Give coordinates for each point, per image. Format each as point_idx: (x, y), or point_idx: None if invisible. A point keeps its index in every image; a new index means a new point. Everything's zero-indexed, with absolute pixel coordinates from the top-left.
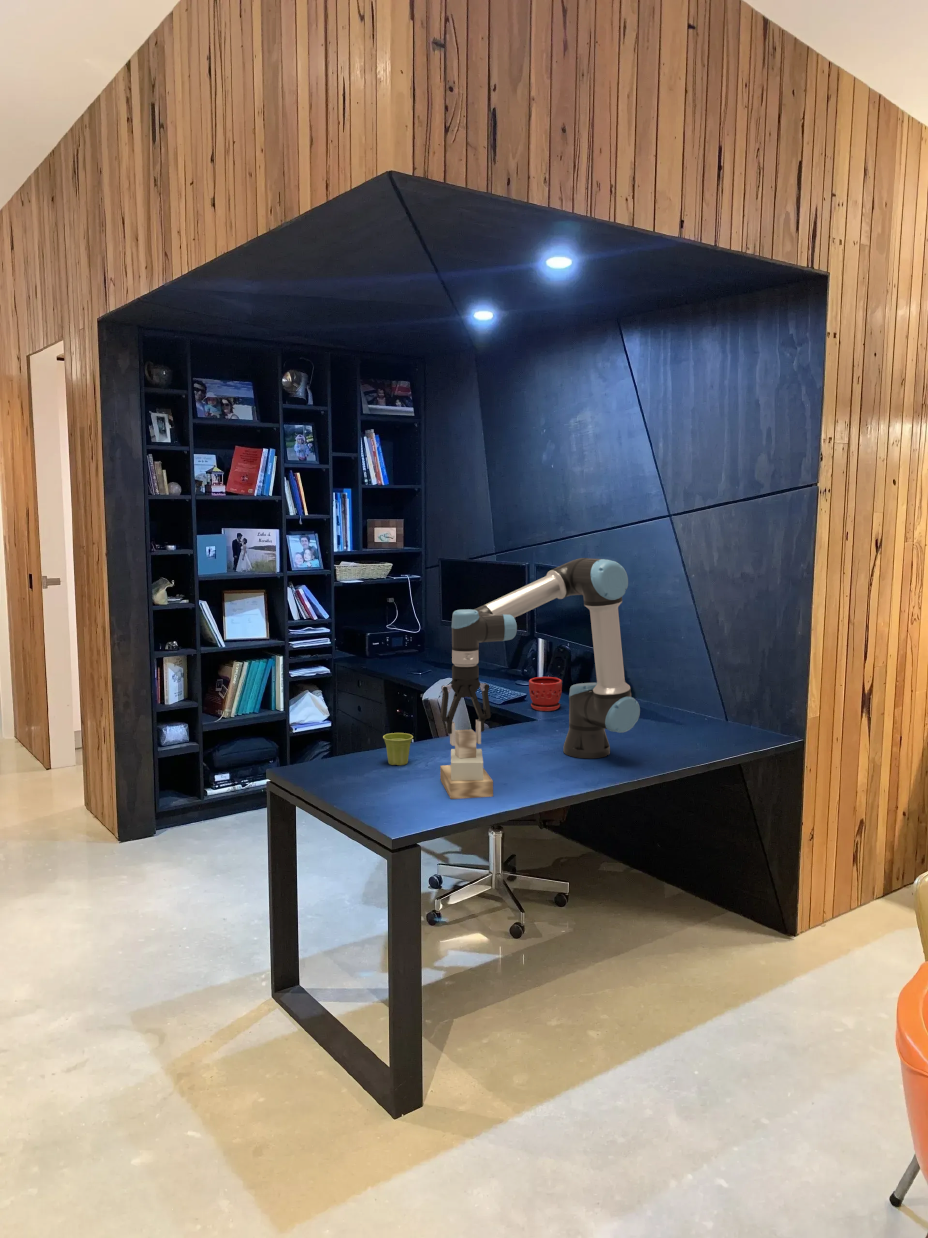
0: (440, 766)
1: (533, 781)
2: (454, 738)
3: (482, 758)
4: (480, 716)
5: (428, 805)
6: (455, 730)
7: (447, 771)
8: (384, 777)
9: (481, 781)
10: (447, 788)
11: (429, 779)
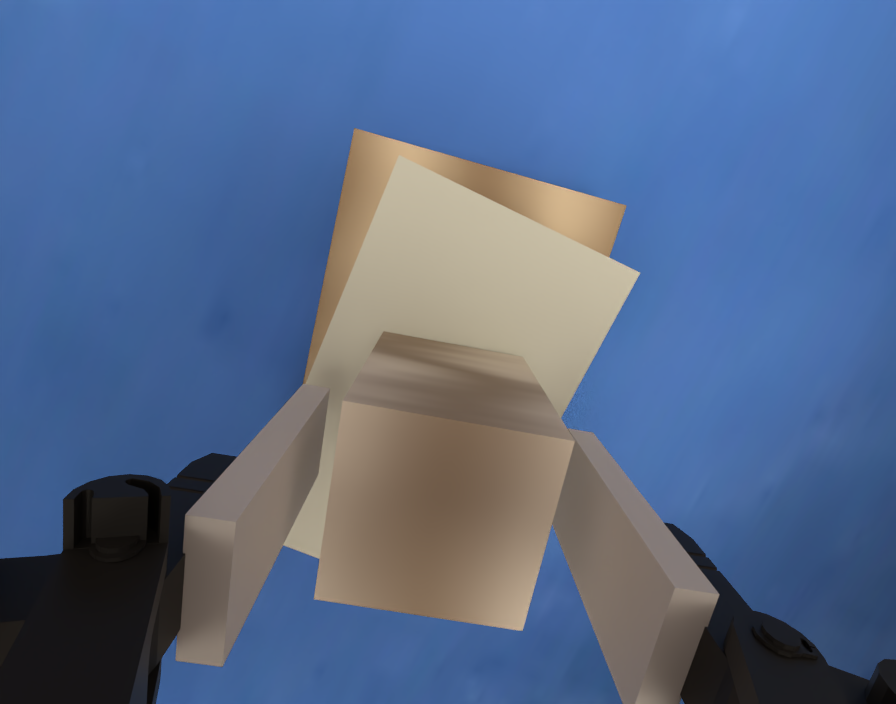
0: None
1: (51, 295)
2: (595, 461)
3: (348, 281)
4: (130, 595)
5: (744, 165)
6: (521, 623)
7: None
8: None
9: (429, 155)
10: None
11: None
